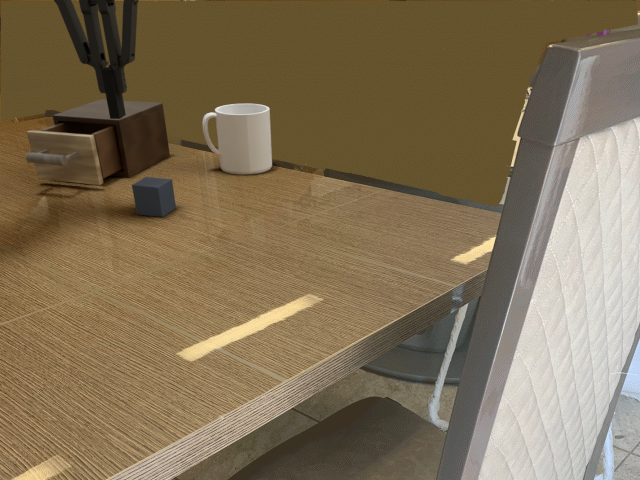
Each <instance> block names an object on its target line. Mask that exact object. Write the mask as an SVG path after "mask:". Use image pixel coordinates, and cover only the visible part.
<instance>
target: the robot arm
mask: <svg viewBox="0 0 640 480" xmlns="http://www.w3.org/2000/svg"><path fill="white" fill-rule="evenodd" d="M53 1H54V3H55V4H56V5H57V7H58V10H59V12H60V15H61V17H62V20H63V22H64V25H65V27H66V30H67V33H68V35H69V37H70V39H71V42H72V44H73V47H74V49H75V52H76V55H77V57H78V59H79V62H80V63H82V64H83V65H88V66H90V67H92V68H93V69H94V71H95V77H96V81H97V87H98V91H99V92H100V94H105V99H107V104H108V109H109V115H110V119H120V118H122V117H124V116H125V115H126V113H125V108H124V102H123V101H124V96H123V94H124V93H126V92H127V89H128V85H127V79H126V74H125V66H127V65H128V64H131V63H133V62H134V61H135V59H136V46H137V45H136V43H137V26H138V25H137V23H138V22H137V21H138V3H139V1H140V0H123V2H122V28H121V38H120V32H119V26H118V21H117V15H116V12H117V7H116V0H78V3H79V8H80V12H81V14H82V15H83V22H84V27H85V31H86V33H85V31H84V28H83V26H82V23H81V20H80V18H79V15H78V13H77V11H76V8H75V5H74V4H73V1H72V0H53ZM99 13H100V17H101V22H102V27H103V33H104V40H105V43H106V50H107V55H108V61H107V56H106V52H105V51H106V50H105V45H104V40H103V35H102V29H101V28H102V27H101V22H100V18H99Z"/></svg>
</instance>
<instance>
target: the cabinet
mask: <svg viewBox="0 0 640 480" xmlns="http://www.w3.org/2000/svg"><path fill="white" fill-rule="evenodd" d="M123 102H124V108H125V113H126V115H125V116H124V117H122V118H120V119H110V115H109V109H108V104H107V99H106V98H99V99H97V100H94V101H92V102H89V103H84V104H82V105H80V106H79V105H78V106H77V107H73V108H70V109H68V110H64V111H61V112H58V113H55V114H53V115H52V120H53V126H54V125H57V124H59V123H62V122H65V121H66V122H79V123H93V124H106V125H116V130H117V135H118V141H119V147H120V152H121V158H122V163H123V169H121V170H119V171H117V172H115V173H113V174H111V175H109V176H110V177H120V178H131V177H133V176H135V175H136V174H138V173H141V172H142V171H144V170H146V169H148V168H149V167H152V166H153V165H156V164H158V163H160V162H162V161H164V160H165V159H167V158H169V157H170V156H171V154H170V146H169V140H168V132H167V131H168V130H167V124H166V117H165V110H164V103H163V102H152V101H139V100H138V101H137V100H123ZM109 176H108V177H109Z"/></svg>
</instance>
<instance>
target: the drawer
mask: <svg viewBox="0 0 640 480" xmlns="http://www.w3.org/2000/svg"><path fill="white" fill-rule="evenodd" d="M26 135H27V139H28V143H29V146H30V151H31V152H30V151H28V152H26V154H25V160H26V162H27V163H32V164H34V166H35V169H36V174H37V177H38V179H39V180H46V181H47V180H48V181H56V182H67V183H76V184H77V183H78V184H86V185H94V186H95V185H96V186H100V185H103V184H104V179H105V178H108V177H109V175H111V174H113V173H115V172H117V171H119V170H121V169H123V163H122V158H121V152H120V147H119V141H118V135H117V130H116V125H106V124H93V123H79V122H66V121H65V122H62V123H59V124H57V125H54V124H53V125H51V126H49V127H46V128H43V129H40V130H34V129H30V130H28V131H26Z"/></svg>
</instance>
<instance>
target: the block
mask: <svg viewBox="0 0 640 480" xmlns="http://www.w3.org/2000/svg"><path fill="white" fill-rule="evenodd" d="M173 184H174V182H173V178H162V177H153V176H145V177H144V178H142V179H140V180H138V181H137V182H135V183H133V184H131V188H132V195H133V200H134V206H135V211H136V215H140V216H148V217H159V218H164V217H165V216H167V215H168V214H169V213H171V212H172V211H174V210H175V209H176V208H177V206H176V205H177V204H176V197H175V190H174V185H173Z"/></svg>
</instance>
